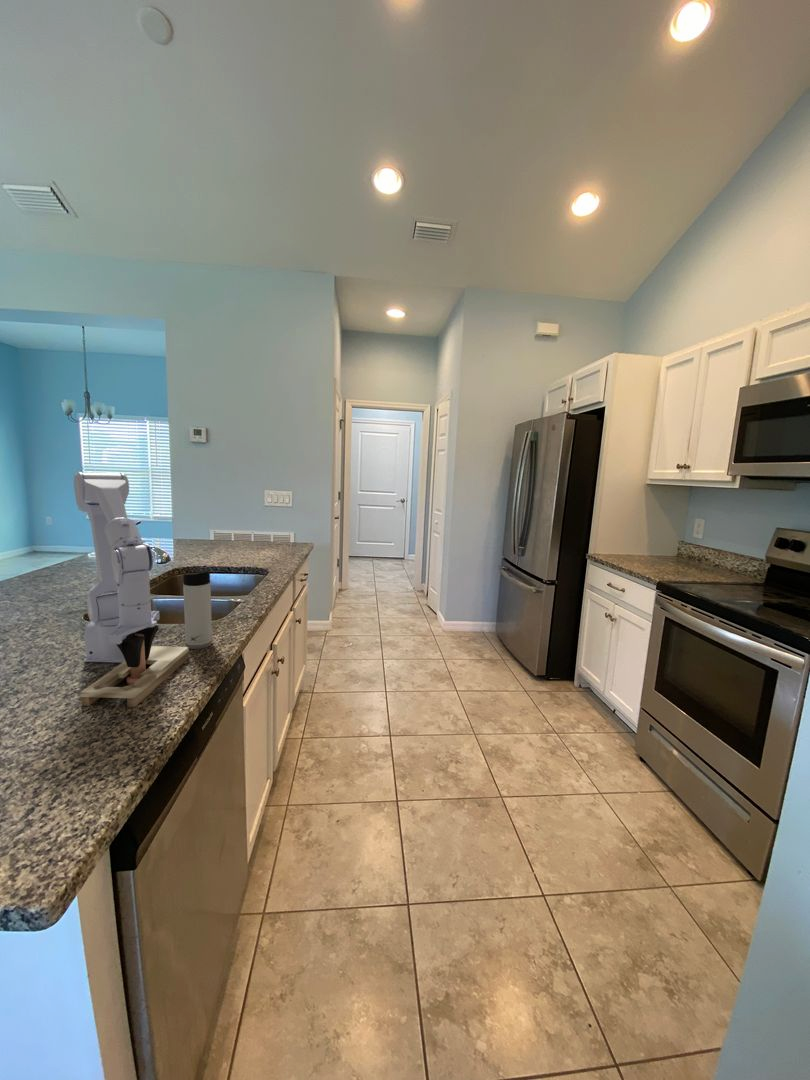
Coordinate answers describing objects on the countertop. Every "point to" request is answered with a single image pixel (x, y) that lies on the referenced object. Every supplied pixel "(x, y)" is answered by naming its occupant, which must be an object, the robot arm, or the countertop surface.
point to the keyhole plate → (162, 667)
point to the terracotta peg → (137, 671)
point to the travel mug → (197, 609)
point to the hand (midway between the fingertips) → (138, 663)
